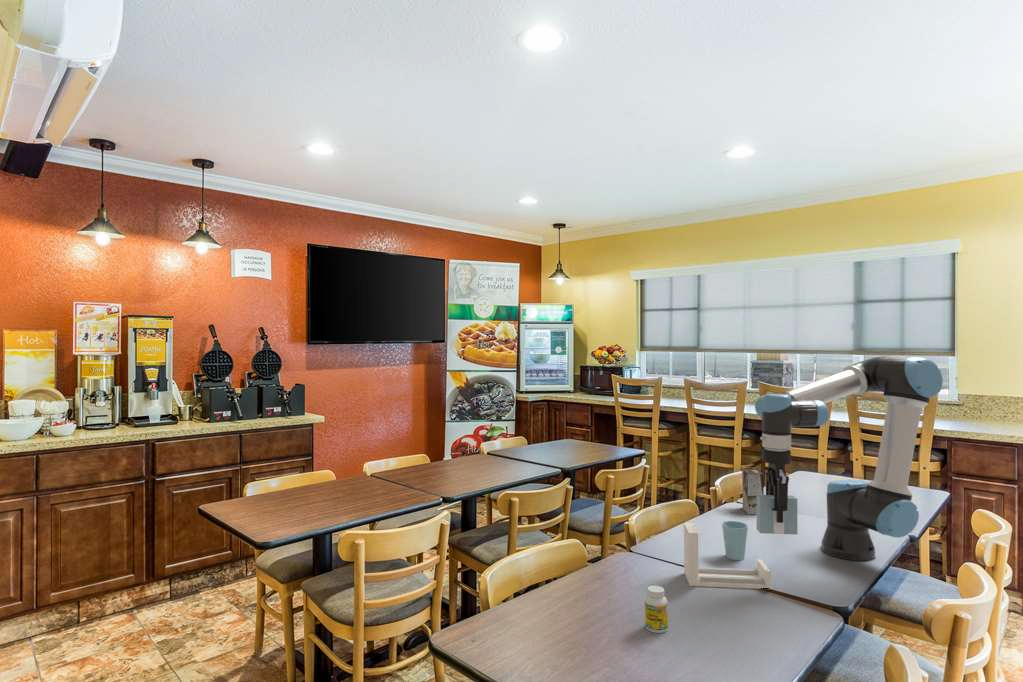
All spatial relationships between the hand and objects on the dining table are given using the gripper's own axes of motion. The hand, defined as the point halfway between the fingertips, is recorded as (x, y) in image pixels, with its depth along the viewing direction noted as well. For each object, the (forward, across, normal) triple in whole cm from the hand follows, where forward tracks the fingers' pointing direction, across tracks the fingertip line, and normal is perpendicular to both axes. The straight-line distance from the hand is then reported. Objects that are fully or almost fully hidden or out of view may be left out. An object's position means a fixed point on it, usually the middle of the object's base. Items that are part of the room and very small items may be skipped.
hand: (776, 530), depth 167 cm
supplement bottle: (+16, +29, -37) cm, 50 cm away
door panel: (0, 0, 0) cm, 0 cm away
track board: (+15, 0, -14) cm, 20 cm away
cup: (+15, -19, -6) cm, 25 cm away
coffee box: (+15, -70, +13) cm, 73 cm away
